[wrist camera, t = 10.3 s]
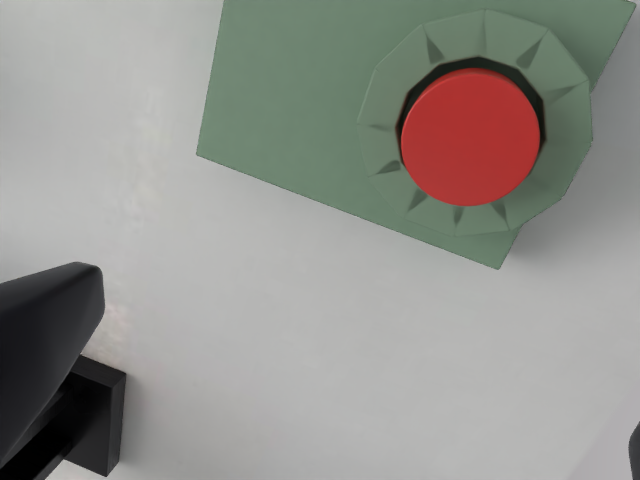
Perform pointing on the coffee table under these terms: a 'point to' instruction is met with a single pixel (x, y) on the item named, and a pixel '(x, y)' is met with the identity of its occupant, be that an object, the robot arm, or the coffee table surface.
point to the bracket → (73, 426)
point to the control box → (400, 101)
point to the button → (470, 137)
